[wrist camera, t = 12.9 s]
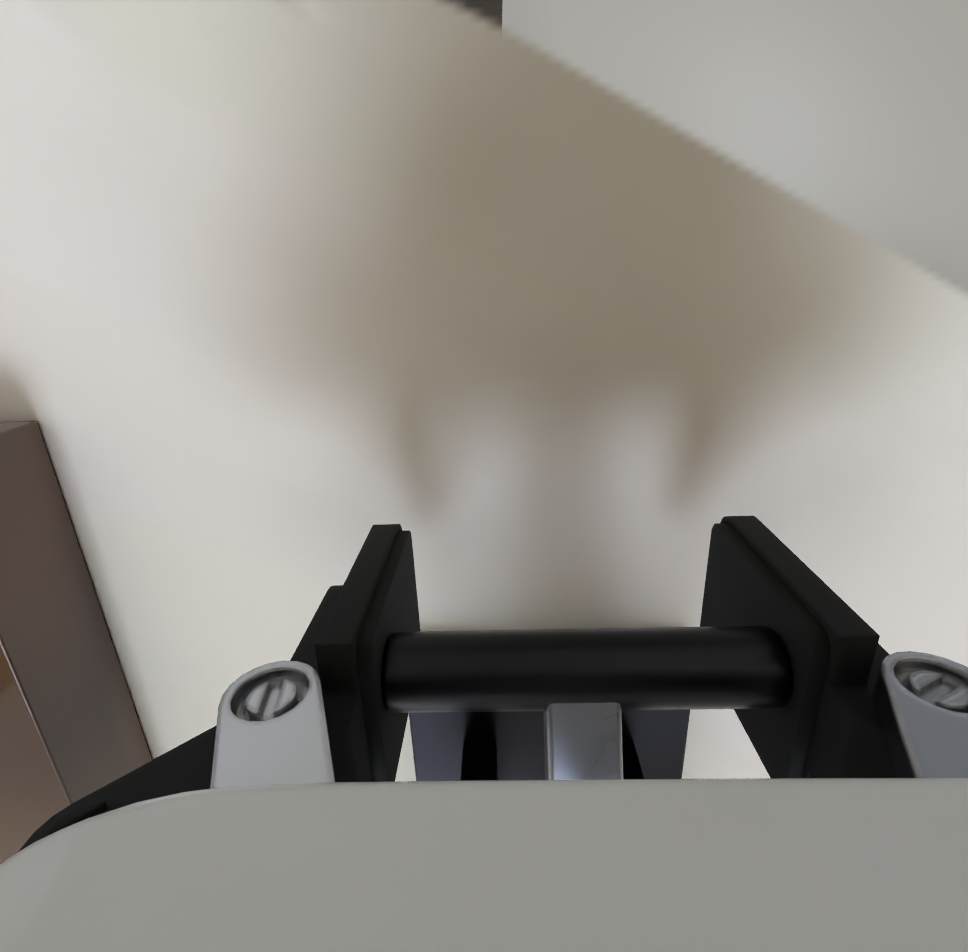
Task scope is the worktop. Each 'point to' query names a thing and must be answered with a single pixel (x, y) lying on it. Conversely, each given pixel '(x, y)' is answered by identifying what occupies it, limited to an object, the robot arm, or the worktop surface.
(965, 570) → the worktop surface
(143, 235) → the worktop surface
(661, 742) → the handle bracket
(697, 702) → the door lever
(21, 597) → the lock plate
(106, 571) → the worktop surface
